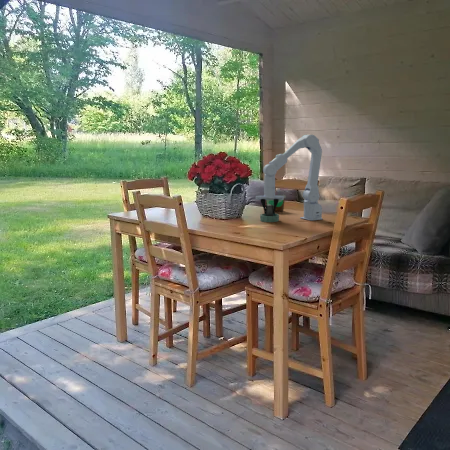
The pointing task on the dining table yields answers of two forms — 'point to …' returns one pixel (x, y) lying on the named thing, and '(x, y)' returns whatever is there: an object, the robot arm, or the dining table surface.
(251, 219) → the dining table surface
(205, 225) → the dining table surface
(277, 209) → the food container
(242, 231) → the dining table surface
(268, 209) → the cell
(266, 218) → the green short cylinder
